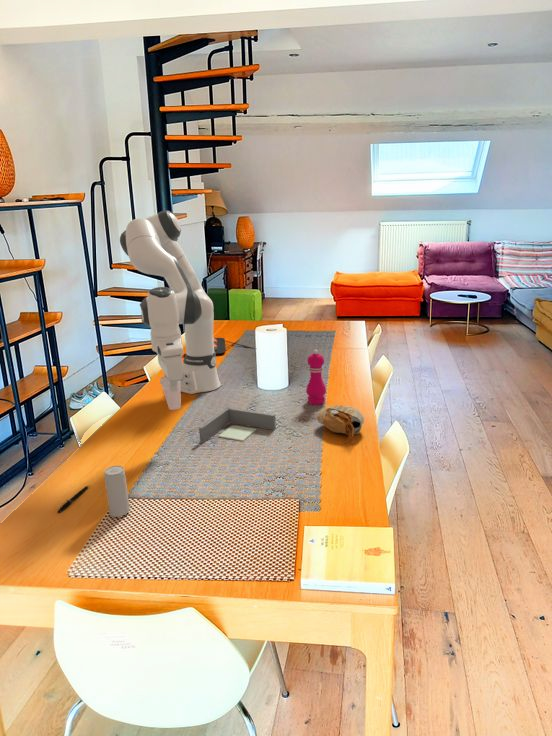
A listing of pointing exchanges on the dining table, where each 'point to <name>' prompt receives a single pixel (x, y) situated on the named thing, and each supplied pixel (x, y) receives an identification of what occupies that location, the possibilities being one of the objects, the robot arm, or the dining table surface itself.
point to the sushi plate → (223, 345)
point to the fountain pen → (71, 499)
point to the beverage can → (116, 491)
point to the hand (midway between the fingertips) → (171, 386)
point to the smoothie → (171, 394)
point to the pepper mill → (316, 379)
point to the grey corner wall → (238, 418)
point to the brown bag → (341, 420)
